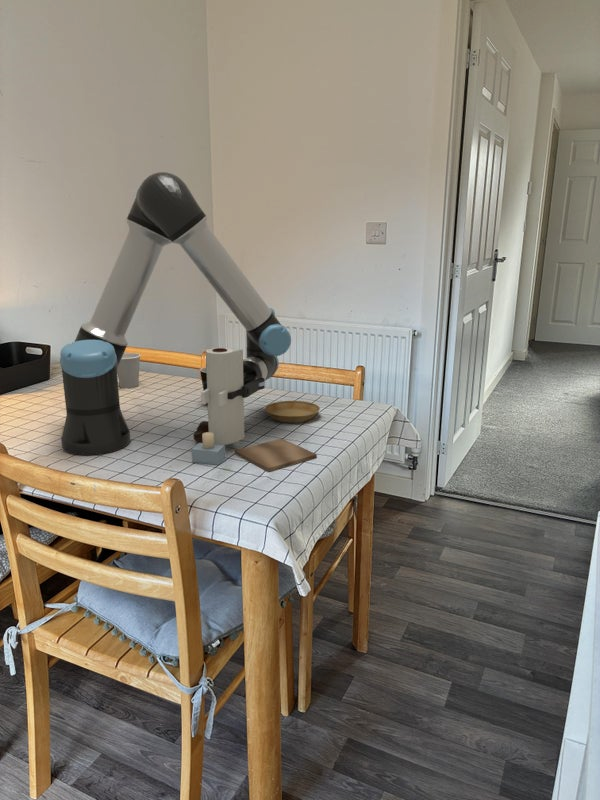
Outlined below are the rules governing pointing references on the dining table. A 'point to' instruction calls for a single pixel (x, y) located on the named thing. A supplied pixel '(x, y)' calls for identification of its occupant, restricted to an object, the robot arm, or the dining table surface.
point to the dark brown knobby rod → (201, 431)
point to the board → (275, 454)
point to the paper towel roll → (228, 376)
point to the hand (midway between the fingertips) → (211, 399)
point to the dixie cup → (129, 370)
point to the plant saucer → (292, 411)
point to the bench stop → (208, 451)
